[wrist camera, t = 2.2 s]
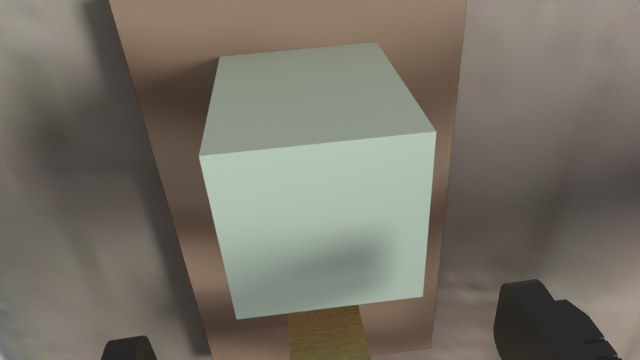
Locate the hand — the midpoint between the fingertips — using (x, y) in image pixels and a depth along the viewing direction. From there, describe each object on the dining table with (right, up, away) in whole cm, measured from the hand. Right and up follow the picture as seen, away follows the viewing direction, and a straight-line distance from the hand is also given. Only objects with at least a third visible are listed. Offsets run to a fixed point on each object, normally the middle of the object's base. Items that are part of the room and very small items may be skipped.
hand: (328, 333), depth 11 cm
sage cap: (-1, +6, +8) cm, 10 cm away
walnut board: (-1, +2, +12) cm, 12 cm away
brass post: (0, -3, +13) cm, 13 cm away
